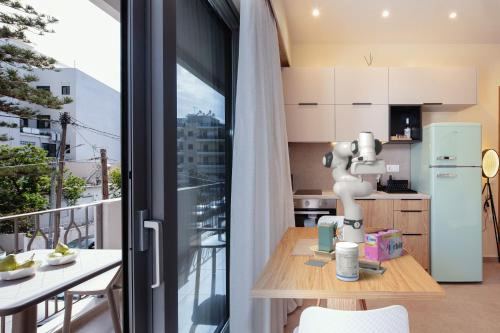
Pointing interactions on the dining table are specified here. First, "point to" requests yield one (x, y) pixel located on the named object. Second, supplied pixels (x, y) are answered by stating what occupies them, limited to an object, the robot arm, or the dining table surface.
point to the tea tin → (325, 237)
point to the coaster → (316, 263)
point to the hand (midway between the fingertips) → (369, 182)
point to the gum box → (383, 245)
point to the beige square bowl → (323, 253)
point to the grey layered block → (371, 266)
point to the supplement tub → (347, 261)
